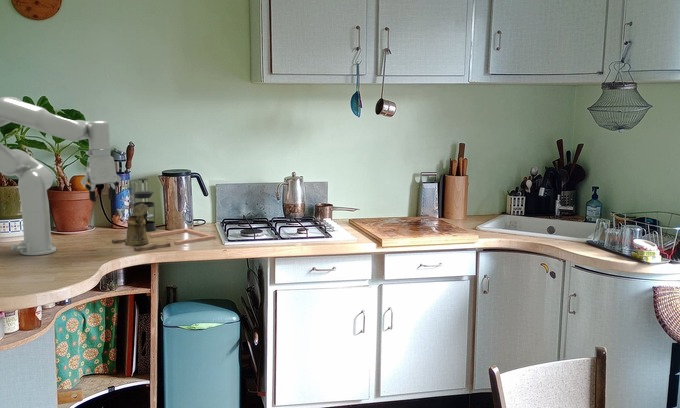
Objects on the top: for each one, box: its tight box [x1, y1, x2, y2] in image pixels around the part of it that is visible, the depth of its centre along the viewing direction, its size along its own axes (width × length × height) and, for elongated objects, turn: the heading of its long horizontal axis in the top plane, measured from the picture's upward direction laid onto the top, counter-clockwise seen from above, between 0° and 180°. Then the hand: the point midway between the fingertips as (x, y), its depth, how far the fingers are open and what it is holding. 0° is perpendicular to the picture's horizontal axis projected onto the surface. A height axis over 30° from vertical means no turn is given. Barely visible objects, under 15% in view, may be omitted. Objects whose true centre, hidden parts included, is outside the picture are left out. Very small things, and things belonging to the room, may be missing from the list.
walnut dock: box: [111, 237, 171, 253], centre depth 275 cm, size 14×22×1 cm, turn 44°
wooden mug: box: [124, 203, 149, 247], centre depth 273 cm, size 9×14×18 cm, turn 33°
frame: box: [149, 227, 216, 246], centre depth 288 cm, size 18×22×1 cm
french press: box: [128, 177, 157, 233], centre depth 302 cm, size 12×9×23 cm
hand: (102, 199), depth 261 cm, fingers open, 6 cm apart
